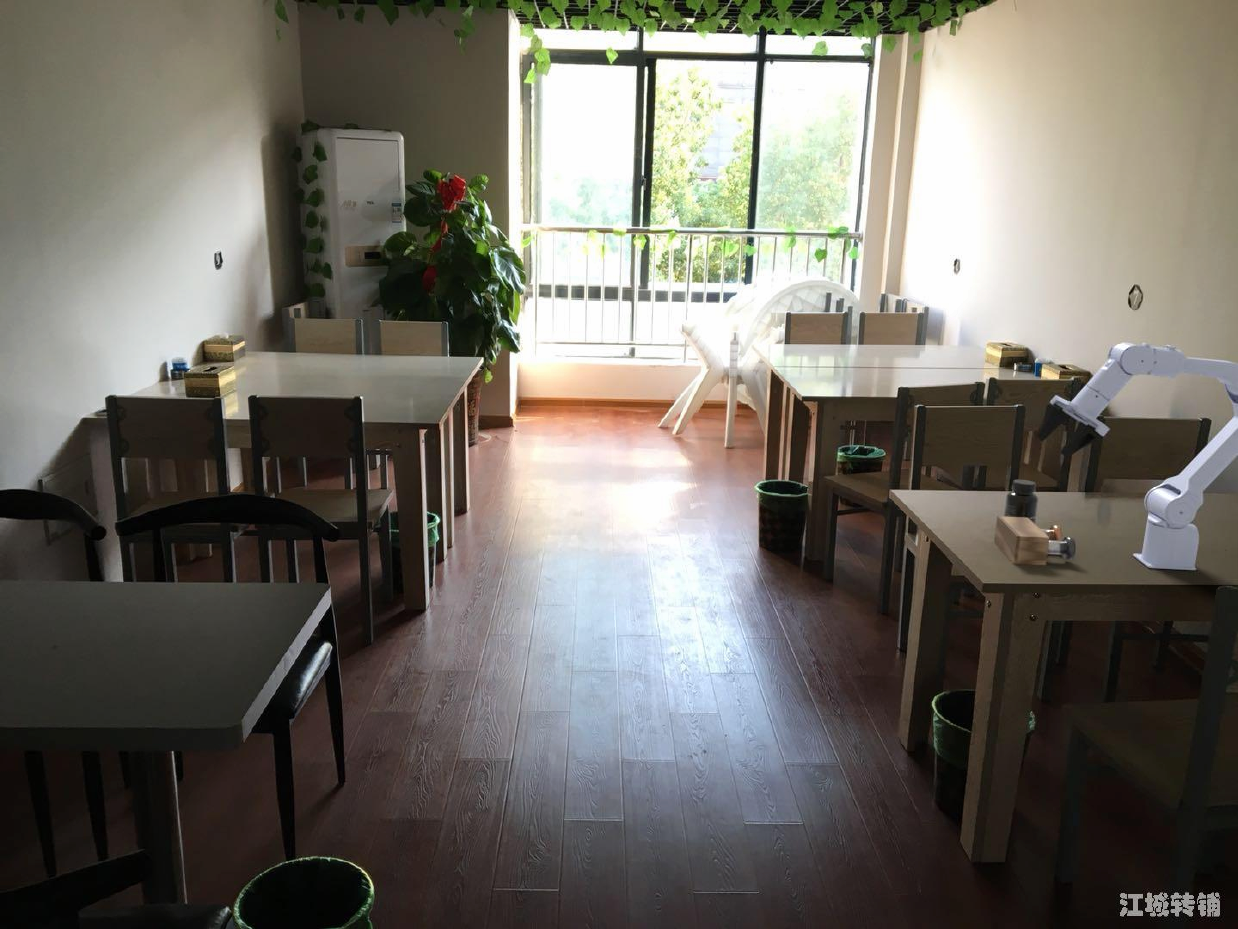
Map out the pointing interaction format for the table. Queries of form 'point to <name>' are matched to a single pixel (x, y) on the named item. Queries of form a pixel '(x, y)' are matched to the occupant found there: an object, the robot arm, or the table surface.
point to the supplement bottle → (1022, 500)
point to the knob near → (1063, 547)
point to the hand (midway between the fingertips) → (1051, 446)
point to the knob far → (1053, 533)
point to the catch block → (1021, 540)
